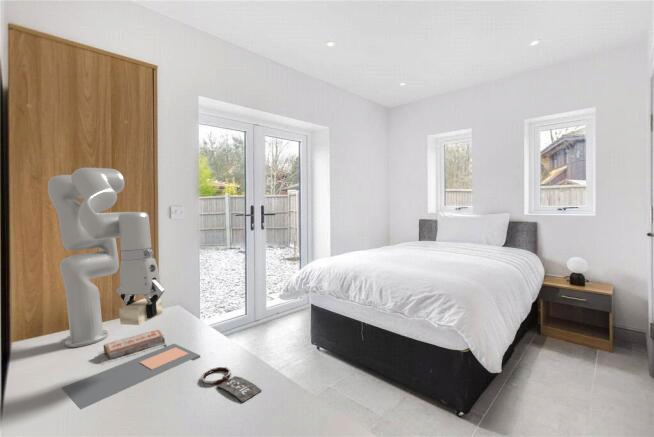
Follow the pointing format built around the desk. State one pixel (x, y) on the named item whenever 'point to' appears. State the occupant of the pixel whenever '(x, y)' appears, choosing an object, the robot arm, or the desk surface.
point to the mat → (127, 375)
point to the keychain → (232, 384)
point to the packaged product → (131, 346)
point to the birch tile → (137, 312)
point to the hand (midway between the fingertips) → (142, 315)
